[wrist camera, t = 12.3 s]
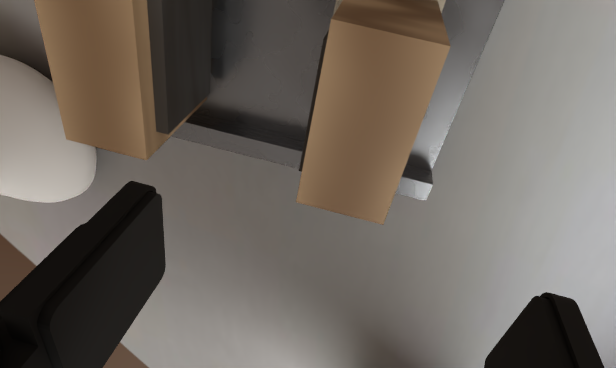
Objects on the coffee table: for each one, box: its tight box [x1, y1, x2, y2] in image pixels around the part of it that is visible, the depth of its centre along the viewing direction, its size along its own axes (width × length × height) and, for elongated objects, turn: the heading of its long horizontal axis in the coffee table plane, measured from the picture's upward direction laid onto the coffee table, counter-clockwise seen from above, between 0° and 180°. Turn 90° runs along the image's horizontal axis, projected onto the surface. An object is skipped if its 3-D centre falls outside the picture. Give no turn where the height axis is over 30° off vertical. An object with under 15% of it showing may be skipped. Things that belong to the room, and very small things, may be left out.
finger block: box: [296, 0, 451, 225], centre depth 18 cm, size 4×8×7 cm, turn 171°
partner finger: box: [34, 0, 212, 160], centre depth 19 cm, size 5×8×7 cm, turn 171°
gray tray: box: [171, 0, 504, 201], centre depth 21 cm, size 20×12×2 cm, turn 81°
